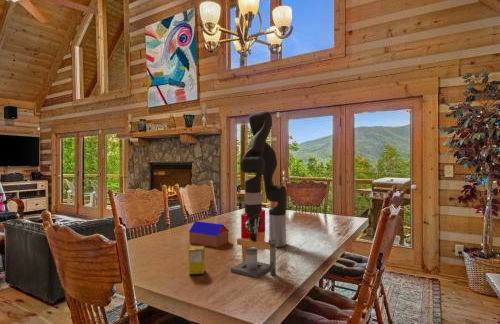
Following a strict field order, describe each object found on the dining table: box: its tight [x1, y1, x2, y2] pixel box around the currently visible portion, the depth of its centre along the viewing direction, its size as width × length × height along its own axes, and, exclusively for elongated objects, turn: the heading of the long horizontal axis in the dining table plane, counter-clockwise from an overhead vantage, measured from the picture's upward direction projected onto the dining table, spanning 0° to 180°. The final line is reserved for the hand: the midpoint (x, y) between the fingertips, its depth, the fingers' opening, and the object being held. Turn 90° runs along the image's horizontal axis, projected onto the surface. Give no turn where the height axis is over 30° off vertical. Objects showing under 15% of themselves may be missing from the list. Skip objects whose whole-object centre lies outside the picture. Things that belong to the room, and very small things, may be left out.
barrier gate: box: [236, 237, 277, 276], centre depth 134 cm, size 4×19×14 cm, turn 60°
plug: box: [245, 247, 258, 270], centre depth 136 cm, size 5×5×9 cm
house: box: [188, 220, 230, 248], centre depth 180 cm, size 12×20×12 cm, turn 60°
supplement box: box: [188, 245, 206, 276], centre depth 133 cm, size 6×6×11 cm
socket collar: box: [230, 260, 270, 279], centre depth 136 cm, size 13×13×2 cm
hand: (253, 241), depth 137 cm, fingers closed
